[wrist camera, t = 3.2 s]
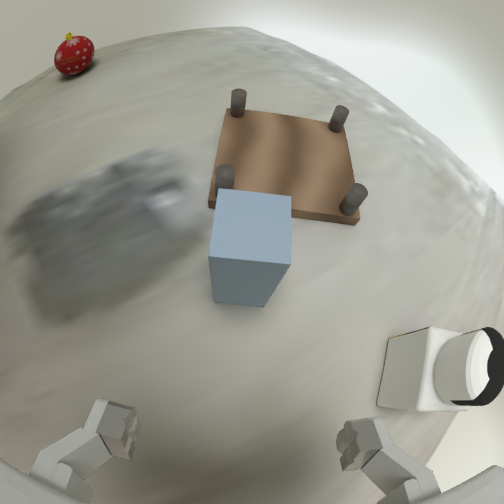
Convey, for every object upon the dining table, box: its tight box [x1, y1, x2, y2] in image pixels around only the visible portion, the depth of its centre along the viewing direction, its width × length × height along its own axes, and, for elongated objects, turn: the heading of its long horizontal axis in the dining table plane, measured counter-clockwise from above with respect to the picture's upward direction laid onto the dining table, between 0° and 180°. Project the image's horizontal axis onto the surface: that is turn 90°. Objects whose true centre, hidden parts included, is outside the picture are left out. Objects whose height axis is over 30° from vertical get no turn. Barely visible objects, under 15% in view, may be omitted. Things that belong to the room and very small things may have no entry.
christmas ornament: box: [54, 33, 94, 75], centre depth 35 cm, size 9×9×10 cm
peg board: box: [208, 89, 368, 225], centre depth 30 cm, size 16×15×5 cm
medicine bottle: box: [377, 326, 504, 412], centre depth 18 cm, size 7×7×12 cm
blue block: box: [208, 188, 291, 307], centre depth 21 cm, size 4×4×11 cm
